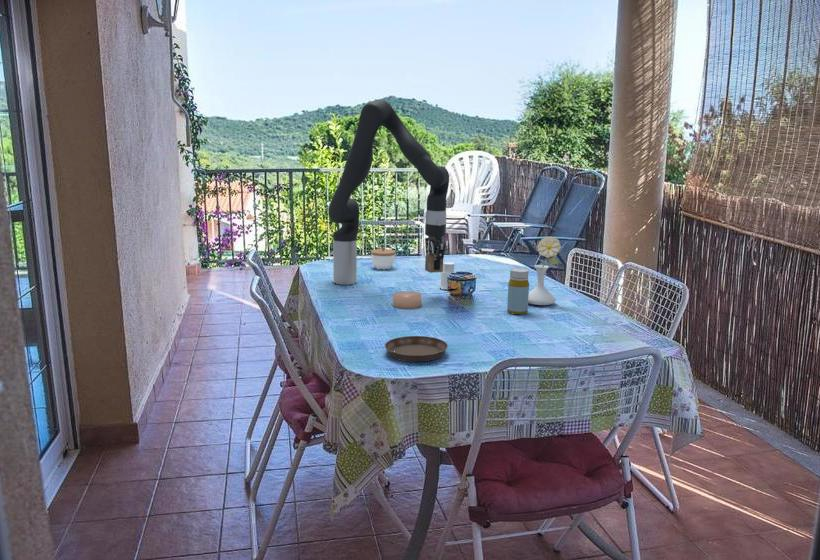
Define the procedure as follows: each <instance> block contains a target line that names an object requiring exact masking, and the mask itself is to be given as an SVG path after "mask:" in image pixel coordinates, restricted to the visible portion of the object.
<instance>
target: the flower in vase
mask: <svg viewBox="0 0 820 560" xmlns="http://www.w3.org/2000/svg"><path fill="white" fill-rule="evenodd" d="M560 242H561V241H560V240H559V239H558V238H555V236H553V237H552V236H551V235H550V236H546V237H544V238H541V240H540V241H539V242H538V244H537V247H536V248H537V251H538V254H539V255H540V256H542V257H545V258H547V260H546V261H545V262H544V261H543V260H542V259H540V258H538V257H537V256H535V258H536V259H537V260H539V261H541V262H542V263H543V264H536V265H534V268H535V270H536V272H537V274H536V275H537V284H536V286H535V287H534V288H533V289H531V290H529V296H528V304H529V305H530V304H531V305H535V306H548V305H549V306H550V305H553V304H554V303H555V302H556V301H557V299H556V297H555V296H554V295H553V294H552V293H551V292H550V291H549V290H548V289H547V288H546V287H545V276H546V272H547V270H548V269H549V268H550V266H549V265H546V264H547V262H549V264H550V265H553V266H554V265H559V264H560V262H559V261H558V259H557V258H555V256H557V255H558V253H559V252H560V250H561V248H562V246H561V243H560Z"/></svg>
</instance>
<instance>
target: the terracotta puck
mask: <svg viewBox="0 0 820 560" xmlns="http://www.w3.org/2000/svg"><path fill="white" fill-rule="evenodd" d="M392 296H393V297H392V306H393V307H395V308H396V309H397V308H398V309H403V310H405V309H406V310H411V309H412V310H413V309H418V308H421V307H422V296H423V295H422V293H421V292H418V291H411V290H404V291H403V290H402V291H397V292H394V293H393V294H392Z"/></svg>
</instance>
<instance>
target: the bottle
mask: <svg viewBox="0 0 820 560" xmlns="http://www.w3.org/2000/svg"><path fill="white" fill-rule="evenodd" d="M509 271H510V272H509V280H508V283H507V305H506V306H507V307H506V311H507V312H508V314H510V313H513V314H512V315H514V314H524V315H526V314H527V313H528V312H529V311H528V309H529V303H528V296H529V292H530V282H529V272H530V271H529V269H527V268H523V267H521V268H519V267H514V268H511V269H510V270H509ZM525 313H526V314H525Z"/></svg>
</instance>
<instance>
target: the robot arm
mask: <svg viewBox="0 0 820 560" xmlns="http://www.w3.org/2000/svg"><path fill="white" fill-rule="evenodd" d="M380 127H384V128H385V129H386V130H387V131H388V132H389V133H390V134H391V135H392V136H393V138H394V139H395V141H396V144H397V145H398V148H399V150H400V152H401V154H402V155H403V156H404V157H405V158H406V159H407V161H408V162H409V163H410V164H411V165H412V166H413V167H414V168H415V169H417V172H418V173H419V175H420V176H421V178H422V179H423V181H425V183H426V184H428V186H430V187H429V193H428V194H427V198H426V212H425V223H424V224H425V227H424V228H425V229H424V235H425V236H427V237H425V239H424V244H425V255H426V254H434V270H440V260H441V259H443V260H444V256H445V251H446V244H445V243H443V241H442V238H443V237H445V236H446V233H447V232H446V231H447V195H448V191H449V185H450V173H449V171H448V169H447V168H446V167H444V166H441V165H439V166H438V165H437V164H436V162H434V161H433V159H432V156H431V154H430V153H429V152H428V151H427V150H426V149H425V147H423V145H422V144H421V143H420V142H419V141H418V140H417V139H416V138H415V137H414V135H413V134H412V133H411V132H410V131H409V129H408V128H407V127H406V125H405V123H404V122H403V120H402V119H401V118H400V116H399V115H398V113H397V112H396V110H394V108H393V106H392V105H391V104H390V103H389V102H388V101H387V100H385V99H382V98H381V99H380V98H379V99H375V100H372V101H369V102H367V103H366V104H364V105H363V107H362V109H361V111H360V114H359V120H358V124H357V126H356V128H357V129H356V132H355V135H354V136H355V137H354V138H353V142H352V145H351V147H350V151H349V153H348V156H347V159H346V161H345V165H344V168H343V172H342V174H341V178H340V179H339V182H338V185H337V187H336V190H335V192H334V194H333V196H332V198H331V201H330V203H329V207H328V218H329V220H330V221H331V222H332V223H335V224H342V225H341V227H339V229H337V230H335V231H334V232H333V234H332V235H333V236H332V240H333V241H332V246H333V247H332V250H333V251H332V252H333V253H332V254H333V256H332V261H333V262H332V263H333V264H332V265H333V268H332V269H333V270H332V271H333V273H332V274H333V278H332V280H333V281H332V283H333V282H334V283H333V284H335V283H336V284H335V285H340V286H344V285H345V286H348V285H355V284H357V278H358V277H357V273H358V271H357V270H358V269H357V264H358V261H357V260H358V259H357V258H358V256H357V255H358V250H357V249H358V247H357V246H358V244H357V243H358V242H357V241H358V234H359V229H360V228H359V226H360V224H359V223H360V206H359V203H358V201H357V200H356V199H355V198H351V196H352V195H353V193H354V192H355V191H356V190H357V189H358V188H359V186H361V184H363V182H365V180H366V178H367V177H368V175H369V174H370V170H371V168H372V165H373V161H374V151H373V145H374V140H375V139H376V136H377V133H378V131H379V128H380Z"/></svg>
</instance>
